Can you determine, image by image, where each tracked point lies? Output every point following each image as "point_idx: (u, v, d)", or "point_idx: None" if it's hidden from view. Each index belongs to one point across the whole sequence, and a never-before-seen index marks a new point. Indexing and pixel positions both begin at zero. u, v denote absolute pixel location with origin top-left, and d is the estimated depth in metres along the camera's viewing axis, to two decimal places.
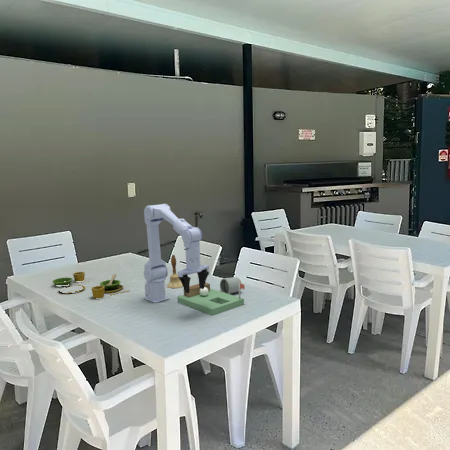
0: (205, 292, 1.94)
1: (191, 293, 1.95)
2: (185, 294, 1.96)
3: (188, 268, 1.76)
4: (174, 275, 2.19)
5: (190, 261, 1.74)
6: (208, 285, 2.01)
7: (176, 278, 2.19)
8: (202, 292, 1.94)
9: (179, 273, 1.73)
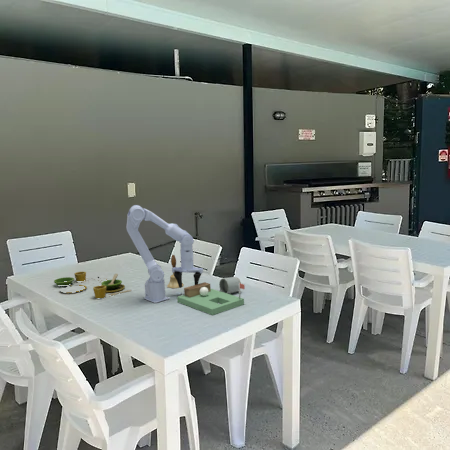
0: (205, 292, 1.94)
1: (192, 293, 1.95)
2: (185, 294, 1.96)
3: None
4: None
5: (181, 261, 2.02)
6: (208, 285, 2.01)
7: None
8: (202, 292, 1.94)
9: None
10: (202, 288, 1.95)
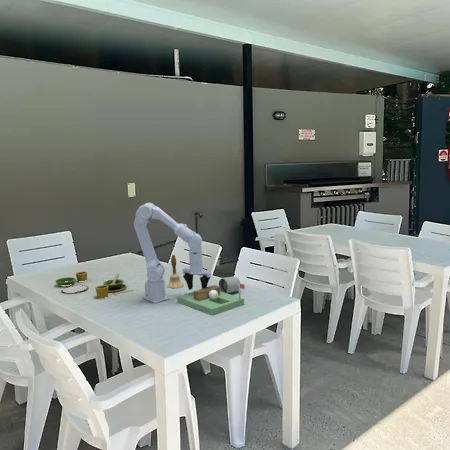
0: None
1: (202, 296, 1.90)
2: (195, 298, 1.91)
3: None
4: (174, 275, 2.19)
5: None
6: (218, 288, 1.96)
7: (176, 278, 2.19)
8: (209, 295, 1.91)
9: None
10: (211, 298, 1.91)
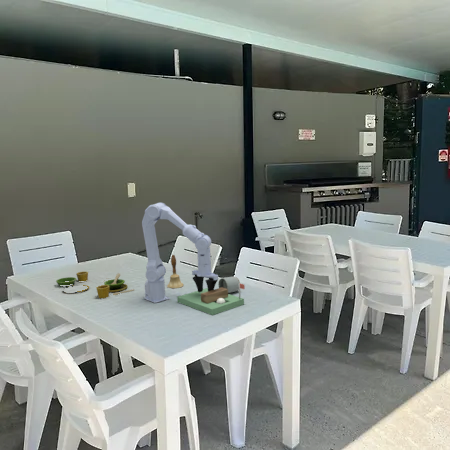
0: (222, 302, 1.86)
1: (209, 299, 1.86)
2: (203, 300, 1.87)
3: None
4: (174, 275, 2.19)
5: None
6: (226, 290, 1.92)
7: (176, 278, 2.19)
8: (219, 303, 1.86)
9: None
10: (218, 299, 1.87)
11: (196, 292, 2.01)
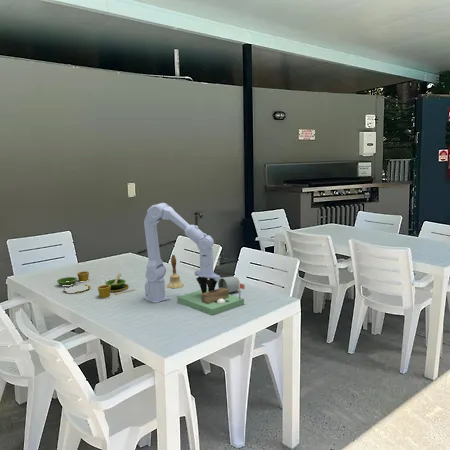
0: (222, 303, 1.86)
1: (210, 299, 1.86)
2: (203, 300, 1.87)
3: None
4: (174, 275, 2.19)
5: None
6: (227, 291, 1.92)
7: (176, 278, 2.19)
8: (219, 303, 1.86)
9: None
10: (219, 299, 1.87)
11: (196, 292, 2.01)
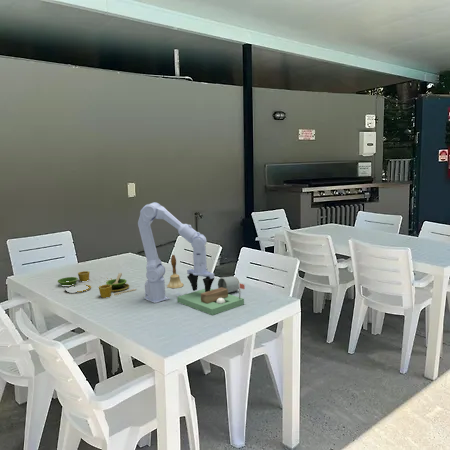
0: (222, 302, 1.86)
1: (209, 299, 1.86)
2: (202, 300, 1.88)
3: None
4: (174, 275, 2.19)
5: None
6: (226, 290, 1.92)
7: (176, 278, 2.19)
8: (219, 302, 1.86)
9: None
10: (218, 299, 1.88)
11: (196, 292, 2.01)
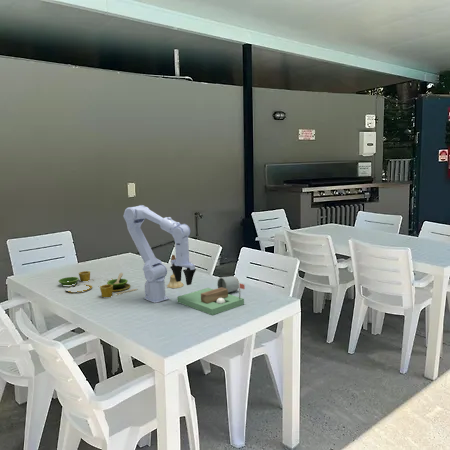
0: (222, 302, 1.86)
1: (209, 299, 1.86)
2: (202, 300, 1.88)
3: None
4: None
5: None
6: (226, 290, 1.92)
7: None
8: (219, 302, 1.86)
9: None
10: (218, 299, 1.88)
11: (196, 292, 2.01)
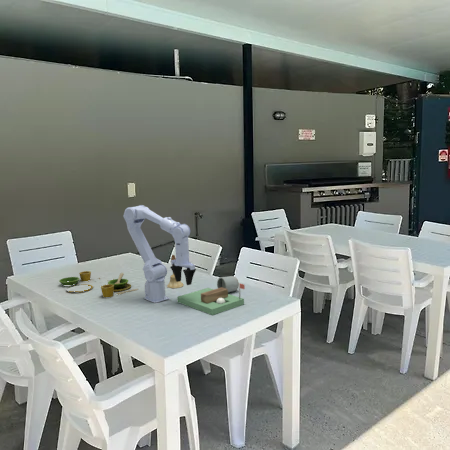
0: (222, 302, 1.86)
1: (209, 299, 1.86)
2: (202, 300, 1.88)
3: None
4: None
5: None
6: (226, 290, 1.92)
7: None
8: (219, 302, 1.86)
9: None
10: (218, 299, 1.88)
11: (196, 292, 2.01)
